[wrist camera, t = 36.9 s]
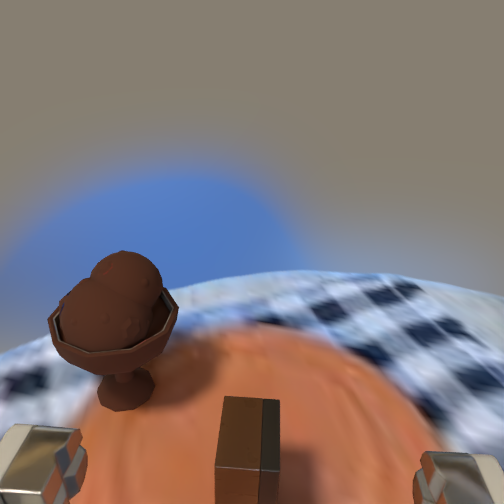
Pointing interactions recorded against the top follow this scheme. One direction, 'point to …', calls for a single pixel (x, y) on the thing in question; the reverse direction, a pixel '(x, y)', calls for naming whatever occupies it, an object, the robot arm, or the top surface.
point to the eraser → (248, 451)
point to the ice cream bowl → (116, 326)
